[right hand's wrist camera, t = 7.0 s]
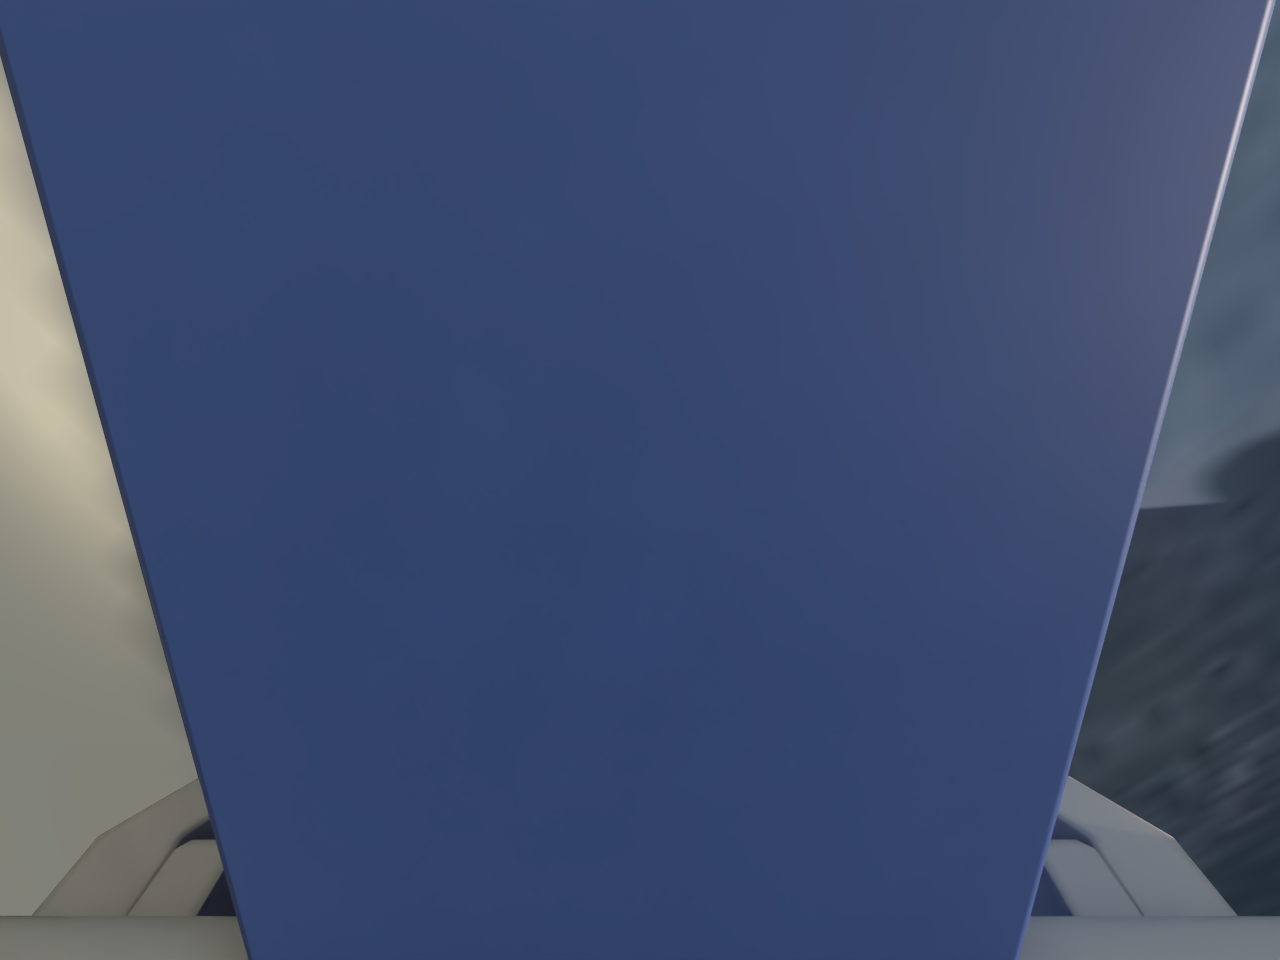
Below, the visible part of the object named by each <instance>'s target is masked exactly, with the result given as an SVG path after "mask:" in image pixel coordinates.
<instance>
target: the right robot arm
mask: <svg viewBox="0 0 1280 960" xmlns="http://www.w3.org/2000/svg"><path fill="white" fill-rule="evenodd" d="M0 960H248V957H247V953H246V949H245V946H244V942H243V938H242V935H241V931H240V928H239V924H238V920H237V917H236V913H235V909H234V906H233V902H232V898H231V895H230V891H229V887H228V884H227V880H226V876H225V873H224V869H223V866H222V862H221V858H220V855H219V851H218V847H217V844H216V840H215V836H214V833H213V829H212V825H211V822H210V818H209V815H208V811H207V807H206V804H205V800H204V796H203V793H202V789H201V785H200V782H199V778H198V779H196V780H194V781H193V782H191V783H189V784H187V785H186V786H184V787H182V788H181V789H179V790H177V791H175V792H174V793H172V794H170V795H169V796H167V797H165V798H163V799H162V800H160V801H158V802H156V803H155V804H153V805H151V806H150V807H148V808H146V809H144V810H143V811H141V812H139V813H138V814H136V815H134V816H132V817H131V818H129V819H127V820H125V821H124V822H122V823H120V824H119V825H117V826H115V827H113V828H112V829H110V830H108V831H107V832H105V833H103V834H101V835H100V836H98V837H97V838H96V840H95V841H94V842H93V843H92V844H91V846H90V847H89V848H88V849H87V850H86V852H85V853H84V854H83V855H82V856H81V858H80V859H79V860H78V861H77V862H76V864H75V865H74V866H73V867H72V868H71V870H70V871H69V872H68V873H67V874H66V875H65V877H64V878H63V879H62V880H61V881H60V883H59V884H58V885H57V886H56V887H55V889H54V890H53V891H52V892H51V893H50V895H49V896H48V897H47V898H46V899H45V901H44V902H43V903H42V904H41V905H40V906H39V908H38V909H37V910H36V911H35V912H34V914H33V915H32V916H0ZM1019 960H1280V916H1237V914H1236V913H1235V912H1234V911H1233V910H1232V908H1231V907H1230V906H1229V905H1228V903H1227V902H1226V901H1225V900H1224V899H1223V897H1222V896H1221V895H1220V894H1219V892H1218V891H1217V890H1216V889H1215V888H1214V886H1213V885H1212V884H1211V883H1210V881H1209V880H1208V879H1207V878H1206V876H1205V875H1204V874H1203V873H1202V872H1201V870H1200V869H1199V868H1198V867H1197V865H1196V864H1195V863H1194V862H1193V861H1192V859H1191V858H1190V857H1189V856H1188V854H1187V853H1186V852H1185V851H1184V850H1183V848H1182V847H1181V846H1180V845H1179V843H1178V842H1177V841H1176V840H1175V839H1174V837H1172V836H1170V835H1169V834H1167V833H1165V832H1163V831H1162V830H1160V829H1158V828H1157V827H1155V826H1153V825H1152V824H1150V823H1148V822H1146V821H1145V820H1143V819H1141V818H1140V817H1138V816H1136V815H1135V814H1133V813H1131V812H1129V811H1128V810H1126V809H1124V808H1123V807H1121V806H1119V805H1118V804H1116V803H1114V802H1113V801H1111V800H1109V799H1107V798H1106V797H1104V796H1102V795H1101V794H1099V793H1097V792H1096V791H1094V790H1092V789H1090V788H1089V787H1087V786H1085V785H1084V784H1082V783H1080V782H1079V781H1077V780H1075V779H1073V778H1072V777H1070V776H1068V777H1067V781H1066V785H1065V788H1064V792H1063V796H1062V800H1061V803H1060V807H1059V811H1058V814H1057V818H1056V822H1055V826H1054V829H1053V833H1052V837H1051V841H1050V844H1049V848H1048V852H1047V855H1046V859H1045V863H1044V867H1043V870H1042V874H1041V878H1040V882H1039V885H1038V889H1037V893H1036V896H1035V900H1034V904H1033V908H1032V911H1031V915H1030V919H1029V923H1028V926H1027V930H1026V934H1025V938H1024V941H1023V945H1022V949H1021V952H1020V956H1019Z"/></svg>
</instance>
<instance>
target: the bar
mask: <svg viewBox="0 0 1280 960" xmlns="http://www.w3.org/2000/svg"><path fill="white" fill-rule="evenodd" d="M1275 1H1276V0H0V56H1V60H2V63H3V67H4V71H5V74H6V78H7V82H8V85H9V89H10V92H11V96H12V100H13V103H14V107H15V111H16V114H17V118H18V122H19V125H20V129H21V133H22V136H23V140H24V144H25V147H26V151H27V154H28V158H29V162H30V165H31V169H32V173H33V176H34V180H35V184H36V187H37V191H38V195H39V198H40V202H41V205H42V209H43V213H44V216H45V220H46V224H47V227H48V231H49V235H50V238H51V242H52V246H53V249H54V253H55V257H56V260H57V264H58V267H59V271H60V275H61V278H62V282H63V286H64V289H65V293H66V297H67V300H68V304H69V308H70V311H71V315H72V319H73V322H74V326H75V329H76V333H77V337H78V340H79V344H80V348H81V351H82V355H83V359H84V362H85V366H86V370H87V373H88V377H89V381H90V384H91V388H92V391H93V395H94V399H95V402H96V406H97V410H98V413H99V417H100V421H101V424H102V428H103V432H104V435H105V439H106V443H107V446H108V450H109V453H110V457H111V461H112V464H113V468H114V472H115V475H116V479H117V483H118V486H119V490H120V494H121V497H122V501H123V505H124V508H125V512H126V515H127V519H128V523H129V526H130V530H131V534H132V537H133V541H134V545H135V548H136V552H137V556H138V559H139V563H140V567H141V570H142V574H143V577H144V581H145V585H146V588H147V592H148V596H149V599H150V603H151V607H152V610H153V614H154V618H155V621H156V625H157V629H158V632H159V636H160V639H161V643H162V647H163V650H164V654H165V658H166V661H167V665H168V669H169V672H170V676H171V680H172V683H173V687H174V691H175V694H176V698H177V701H178V705H179V709H180V712H181V716H182V720H183V723H184V727H185V731H186V734H187V738H188V742H189V745H190V749H191V753H192V756H193V760H194V763H195V767H196V771H197V774H198V778H199V782H200V785H201V789H202V793H203V796H204V800H205V804H206V807H207V811H208V815H209V818H210V822H211V825H212V829H213V833H214V836H215V840H216V844H217V847H218V851H219V855H220V858H221V862H222V866H223V869H224V873H225V876H226V880H227V884H228V887H229V891H230V895H231V898H232V902H233V906H234V909H235V913H236V917H237V920H238V924H239V928H240V931H241V935H242V938H243V942H244V946H245V949H246V953H247V957H248V960H1019V956H1020V952H1021V949H1022V945H1023V941H1024V938H1025V934H1026V930H1027V926H1028V923H1029V919H1030V915H1031V911H1032V908H1033V904H1034V900H1035V896H1036V893H1037V889H1038V885H1039V882H1040V878H1041V874H1042V870H1043V867H1044V863H1045V859H1046V855H1047V852H1048V848H1049V844H1050V841H1051V837H1052V833H1053V829H1054V826H1055V822H1056V818H1057V814H1058V811H1059V807H1060V803H1061V800H1062V796H1063V792H1064V788H1065V785H1066V781H1067V777H1068V773H1069V770H1070V766H1071V762H1072V759H1073V755H1074V751H1075V747H1076V744H1077V740H1078V736H1079V732H1080V729H1081V725H1082V721H1083V717H1084V714H1085V710H1086V706H1087V703H1088V699H1089V695H1090V691H1091V688H1092V684H1093V680H1094V676H1095V673H1096V669H1097V665H1098V662H1099V658H1100V654H1101V650H1102V647H1103V643H1104V639H1105V635H1106V632H1107V628H1108V624H1109V621H1110V617H1111V613H1112V609H1113V606H1114V602H1115V598H1116V594H1117V591H1118V587H1119V583H1120V579H1121V576H1122V572H1123V568H1124V565H1125V561H1126V557H1127V553H1128V550H1129V546H1130V542H1131V538H1132V535H1133V531H1134V527H1135V524H1136V520H1137V516H1138V512H1139V509H1140V505H1141V501H1142V497H1143V494H1144V490H1145V486H1146V483H1147V479H1148V475H1149V471H1150V468H1151V464H1152V460H1153V456H1154V453H1155V449H1156V445H1157V442H1158V438H1159V434H1160V430H1161V427H1162V423H1163V419H1164V415H1165V412H1166V408H1167V404H1168V400H1169V397H1170V393H1171V389H1172V386H1173V382H1174V378H1175V374H1176V371H1177V367H1178V363H1179V359H1180V356H1181V352H1182V348H1183V345H1184V341H1185V337H1186V333H1187V330H1188V326H1189V322H1190V318H1191V315H1192V311H1193V307H1194V304H1195V300H1196V296H1197V292H1198V289H1199V285H1200V281H1201V277H1202V274H1203V270H1204V266H1205V263H1206V259H1207V255H1208V251H1209V248H1210V244H1211V240H1212V236H1213V233H1214V229H1215V225H1216V221H1217V218H1218V214H1219V210H1220V207H1221V203H1222V199H1223V195H1224V192H1225V188H1226V184H1227V180H1228V177H1229V173H1230V169H1231V166H1232V162H1233V158H1234V154H1235V151H1236V147H1237V143H1238V139H1239V136H1240V132H1241V128H1242V125H1243V121H1244V117H1245V113H1246V110H1247V106H1248V102H1249V98H1250V95H1251V91H1252V87H1253V83H1254V80H1255V76H1256V72H1257V69H1258V65H1259V61H1260V57H1261V54H1262V50H1263V46H1264V42H1265V39H1266V35H1267V31H1268V28H1269V24H1270V20H1271V16H1272V13H1273V9H1274V5H1275Z"/></svg>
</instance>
